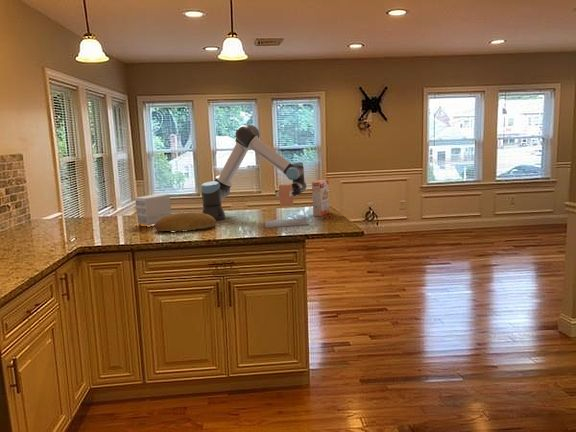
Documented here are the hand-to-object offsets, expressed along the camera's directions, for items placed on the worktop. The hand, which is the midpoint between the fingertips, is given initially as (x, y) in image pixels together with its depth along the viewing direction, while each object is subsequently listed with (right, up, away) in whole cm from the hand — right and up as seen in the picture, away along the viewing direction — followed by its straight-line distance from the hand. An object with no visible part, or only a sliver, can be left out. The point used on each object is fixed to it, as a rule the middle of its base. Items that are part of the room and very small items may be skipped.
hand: (283, 194), depth 269 cm
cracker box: (+24, -12, +23) cm, 35 cm away
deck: (+2, -6, +6) cm, 9 cm away
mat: (+2, -17, +2) cm, 17 cm away
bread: (-56, -20, +5) cm, 60 cm away
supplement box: (-81, -18, +28) cm, 87 cm away
